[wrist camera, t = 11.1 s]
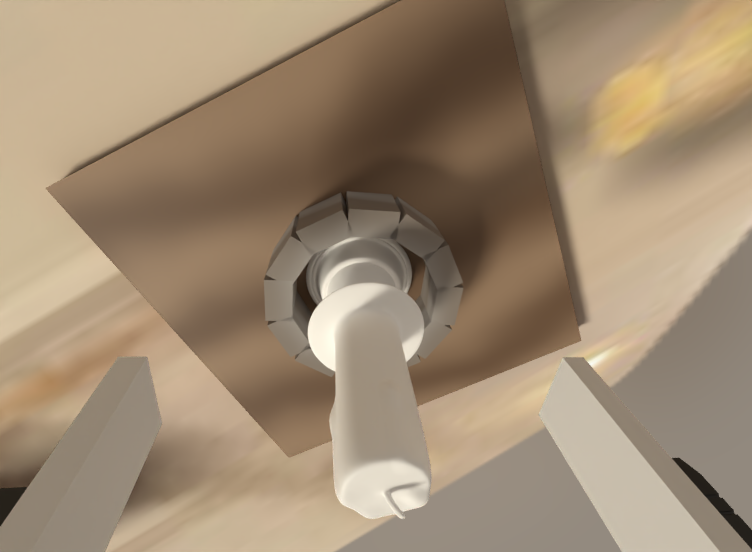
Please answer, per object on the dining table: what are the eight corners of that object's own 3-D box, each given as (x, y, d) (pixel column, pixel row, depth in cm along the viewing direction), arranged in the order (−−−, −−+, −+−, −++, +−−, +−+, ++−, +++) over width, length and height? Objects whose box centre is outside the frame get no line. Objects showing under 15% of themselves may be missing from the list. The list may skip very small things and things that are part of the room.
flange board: (59, 182, 17) (1, 206, 14) (483, -42, 15) (523, -70, 12) (290, 444, 27) (285, 494, 23) (572, 330, 24) (607, 368, 21)
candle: (431, 256, 20) (543, 474, 9) (378, 333, 22) (420, 585, 11) (336, 208, 18) (342, 408, 8) (288, 296, 20) (239, 552, 9)
